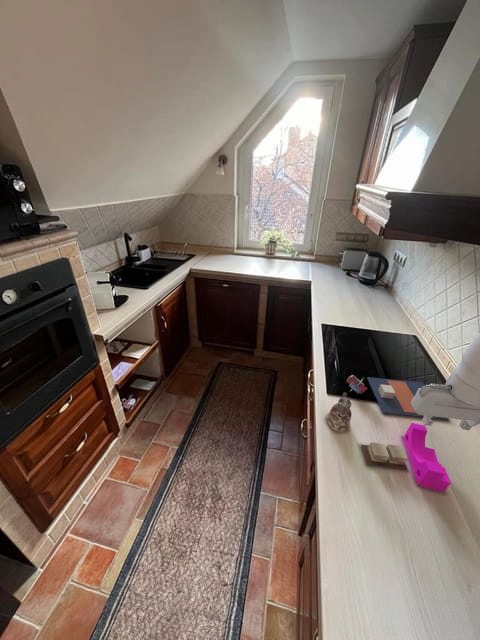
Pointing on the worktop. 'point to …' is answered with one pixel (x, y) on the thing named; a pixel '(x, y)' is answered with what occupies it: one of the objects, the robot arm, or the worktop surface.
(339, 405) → the figurine
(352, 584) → the worktop surface
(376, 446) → the word strip left
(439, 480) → the toy block
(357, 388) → the geometric puzzle
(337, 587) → the worktop surface
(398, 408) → the blue orange board
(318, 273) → the worktop surface
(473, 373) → the robot arm
